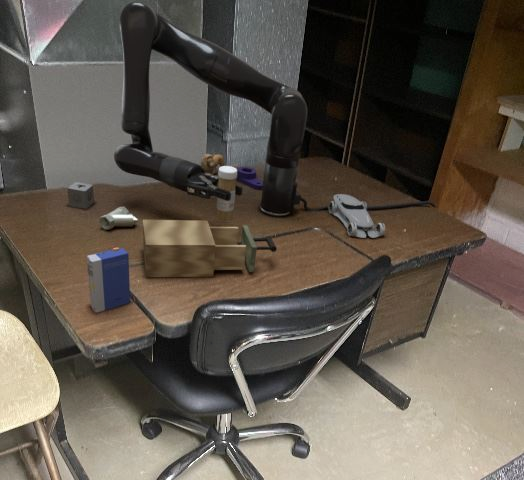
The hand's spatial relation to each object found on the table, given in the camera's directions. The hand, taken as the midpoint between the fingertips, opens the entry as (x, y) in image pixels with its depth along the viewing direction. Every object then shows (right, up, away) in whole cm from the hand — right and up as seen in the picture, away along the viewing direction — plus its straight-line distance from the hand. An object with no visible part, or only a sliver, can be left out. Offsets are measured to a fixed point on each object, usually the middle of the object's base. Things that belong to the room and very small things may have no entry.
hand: (235, 194), depth 138 cm
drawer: (-1, -17, -2) cm, 17 cm away
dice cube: (-43, +2, +17) cm, 46 cm away
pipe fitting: (-31, -6, +8) cm, 32 cm away
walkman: (-25, -29, -21) cm, 44 cm away
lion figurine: (-9, +17, +44) cm, 48 cm away
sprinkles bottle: (-3, -5, +6) cm, 8 cm away
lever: (+3, +16, +44) cm, 47 cm away
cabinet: (-14, -18, -4) cm, 23 cm away
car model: (+34, 0, +29) cm, 44 cm away
